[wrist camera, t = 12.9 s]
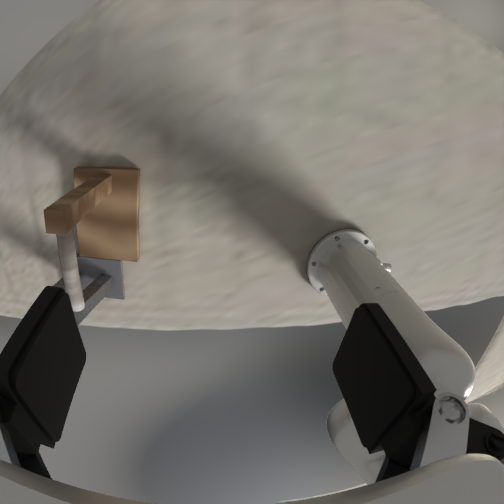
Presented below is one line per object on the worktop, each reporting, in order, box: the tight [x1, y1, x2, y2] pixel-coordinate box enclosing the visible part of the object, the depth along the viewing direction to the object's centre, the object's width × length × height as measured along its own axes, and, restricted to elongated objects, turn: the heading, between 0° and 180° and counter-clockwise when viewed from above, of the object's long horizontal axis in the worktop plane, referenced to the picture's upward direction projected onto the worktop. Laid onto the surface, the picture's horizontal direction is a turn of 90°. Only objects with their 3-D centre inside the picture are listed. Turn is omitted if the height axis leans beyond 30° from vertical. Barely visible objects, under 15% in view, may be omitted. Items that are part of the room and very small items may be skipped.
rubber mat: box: [76, 255, 125, 299], centre depth 43 cm, size 11×8×1 cm
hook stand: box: [44, 167, 140, 312], centre depth 32 cm, size 14×10×16 cm
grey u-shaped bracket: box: [53, 272, 114, 326], centre depth 38 cm, size 8×2×11 cm, turn 81°
